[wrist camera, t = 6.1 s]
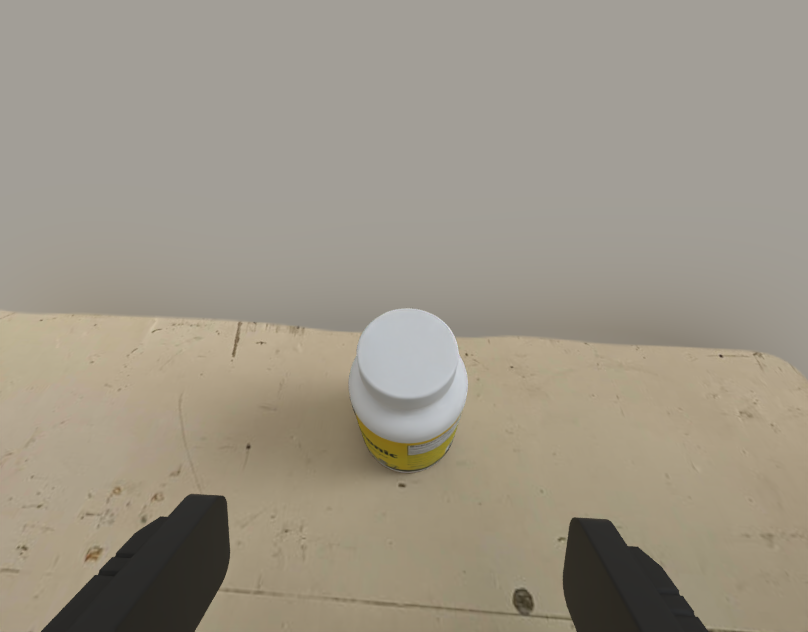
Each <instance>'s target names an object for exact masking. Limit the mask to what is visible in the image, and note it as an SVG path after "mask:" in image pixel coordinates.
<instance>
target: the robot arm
mask: <svg viewBox="0 0 808 632" xmlns="http://www.w3.org/2000/svg"><path fill="white" fill-rule="evenodd" d="M229 559H230V543H229V527H228V512H227V501H226V499H225V497H224V496H218V495H201V494H190V495H188V496H187V497H185V498H184V500H183V501H182V502H181V503H180V504H179V505H178V506H177V507H176V508H175V510H174V511H173V512H172V513H171V514H170V515H169V516H168V517H159V518H158V519H156V520H155V521H153V522H151V523H150V524H148V525H147V526H145V527H144V528H142V529H141V530H139V531H138V532H136V533H135V534H134V535H133V536H132V537H131V538H130V539H129V540H128V541H127V542H126V543H125V544H124V545H123V546H122V547H121V549H120V550H119V551H118V552H117V553H116V556H115V557H112V558H111V559H110V560H109V561H108V562H107V563H106V564H105V565H104V566H103V567H102V568H101V569H100V570H99V574H98V575H95V576H94V577H93V578H92V579H91V580H90V581H89V582H88V583H87V584H86V585H85V586H84V587H83V588H82V589H81V590H80V591H79V592H78V593H77V594H76V595H75V597H74V598H73V599H72V600H71V601H70V602H69V603H68V604H67V605H66V606H65V607H64V608H63V609H62V610H61V611H60V612H59V613H58V614H57V615H56V616H55V617H54V618H53V619H52V620H51V622H50V623H49V624H48V625H47V626H46V627H45V628H44V629H43V630H42V631H41V632H195V630H196V628H197V626H198V625H199V623H200V621H201V619H202V618H203V616H204V614H205V612H206V611H207V609H208V607H209V605H210V604H211V602H212V600H213V598H214V597H215V595H216V593H217V591H218V590H219V588H220V586H221V584H222V582H223V580H224V578H225V575H226V572H227V569H228V564H229ZM563 589H564V596H565V600H566V604H567V607H568V610H569V613H570V615H571V618H572V620H573V623H574V625H575V628H576V631H577V632H708V630H707V629H706V628H705V626H704V625H703V624H702V622H701V621H700V619H699V618H698V617H695V615H694V611H693V610H692V608H691V607H690V606H689V604H688V603H687V601H686V600H685V599H684V597H683V596H680V594H679V590H678V589H677V588H676V586H675V585H674V583H673V582H672V581H671V579H670V578H669V576H668V575H667V574H666V572H665V571H664V570H663V568H662V567H661V566H660V565H659V564H657V563H656V562H655V561H654V560H653V559H652V558H650V557H649V556H648V555H647V554H646V553H644V552H643V551H642V550H641V549H640V548H638V547H633V546H627V544H626V543H625V541H624V540H623V538H622V537H621V535H620V534H619V532H618V531H617V529H616V528H615V526H614V525H613V524H612V522H611V521H609V520H607V519H592V518H575V517H574V518H572V520H571V522H570V526H569V533H568V540H567V548H566V555H565V562H564V570H563Z"/></svg>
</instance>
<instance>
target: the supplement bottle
mask: <svg viewBox="0 0 808 632" xmlns="http://www.w3.org/2000/svg"><path fill="white" fill-rule="evenodd" d="M467 390H468V379H467V373H466V369H465V365H464V363H463V361H462V359H461V357H460V355H459V352H458V345H457V341H456V339H455V337H454V335H453V333H452V331H451V329H450V328H449V327H448V326H447V325H446V324H445V323H444V322H443V321H442V320H441V319H440V318H438V317H437V316H435V315H433V314H431V313H428V312H426V311H423V310H419V309H413V308H412V309H411V308H403V309H397V310H392V311H388V312H386V313H384V314H382V315H380V316H378V317H377V318H376V319H374V320H373V321H372V322H371V323H370V324H369V325H368V326H367V327H366V328H365V330H364V331H363V333H362V335H361V336H360V339H359V342H358V345H357V356H356V358H355V359H354V362H353V364H352V367H351V370H350V375H349V394H350V400H351V403H352V407H353V410H354V413H355V415H356V417H357V420H358V424H359V427H360V429H361V432H362V436H363V438H364V441H365V443H366V446H367V448H368V449H369V451H370V453H371V454H372V455H373V457H374V458H375V459H376V460H377V461H378V462H380V463H381V464H382V465H384V466H385V467H387V468H389V469H391V470H394V471H398V472H404V473H412V472H419V471H422V470H425V469H428V468H430V467H431V466H433V465H434V464H436V463H437V462H438V461H440V460H441V459H442V458H443V456H444V455H445V454H446V453H447V451H448V450H449V448H450V446H451V444H452V441H453V438H454V435H455V432H456V429H457V426H458V423H459V420H460V417H461V414H462V411H463V408H464V405H465V401H466V397H467Z"/></svg>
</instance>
